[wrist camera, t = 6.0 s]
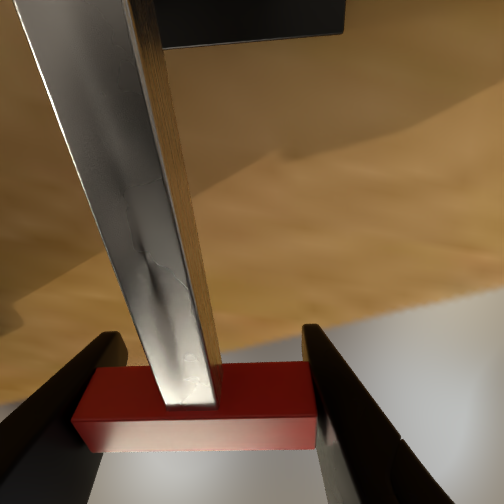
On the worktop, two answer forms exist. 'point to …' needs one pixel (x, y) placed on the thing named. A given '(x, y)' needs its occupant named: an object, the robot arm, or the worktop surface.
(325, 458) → the robot arm
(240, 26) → the toaster bracket
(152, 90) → the lever
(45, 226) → the worktop surface
